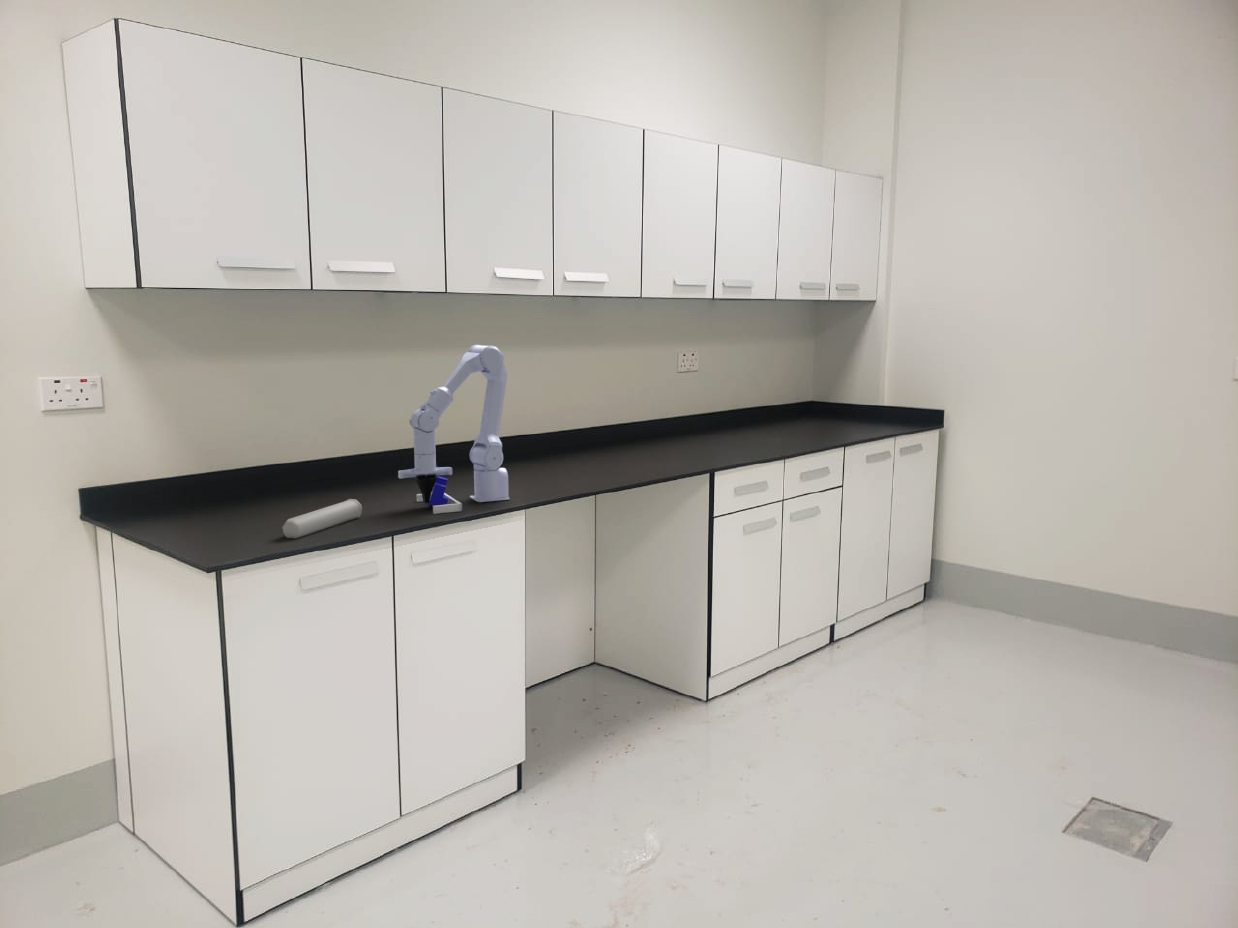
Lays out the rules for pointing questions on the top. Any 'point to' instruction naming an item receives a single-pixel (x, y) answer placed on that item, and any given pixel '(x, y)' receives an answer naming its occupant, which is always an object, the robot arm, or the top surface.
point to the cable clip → (439, 492)
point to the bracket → (450, 507)
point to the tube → (322, 518)
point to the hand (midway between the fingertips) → (426, 502)
